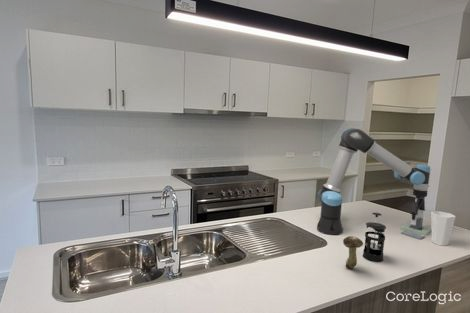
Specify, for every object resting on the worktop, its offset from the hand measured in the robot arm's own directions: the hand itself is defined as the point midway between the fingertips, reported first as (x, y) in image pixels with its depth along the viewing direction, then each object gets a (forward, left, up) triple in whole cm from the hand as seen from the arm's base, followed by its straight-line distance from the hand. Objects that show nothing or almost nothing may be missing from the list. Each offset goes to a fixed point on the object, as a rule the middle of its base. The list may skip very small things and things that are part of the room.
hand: (416, 222), depth 184 cm
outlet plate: (0, 0, -5) cm, 5 cm away
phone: (+2, -12, -6) cm, 14 cm away
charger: (0, 0, -5) cm, 5 cm away
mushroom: (-4, -80, -5) cm, 80 cm away
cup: (+16, -13, -5) cm, 21 cm away
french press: (-2, -61, -5) cm, 61 cm away
